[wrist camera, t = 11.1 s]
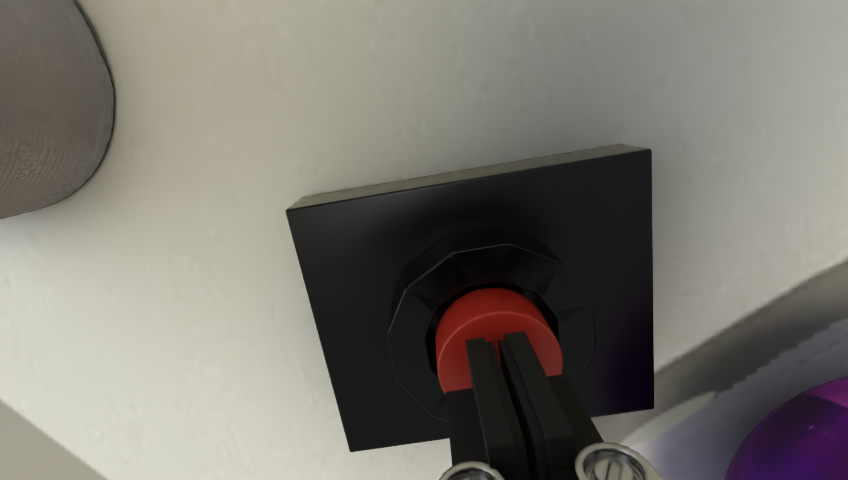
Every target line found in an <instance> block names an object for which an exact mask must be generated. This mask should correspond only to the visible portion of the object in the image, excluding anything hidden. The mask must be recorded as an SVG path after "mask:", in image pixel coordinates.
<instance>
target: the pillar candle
mask: <svg viewBox="0 0 848 480" xmlns="http://www.w3.org/2000/svg"><path fill="white" fill-rule="evenodd" d="M113 109H114V95H113V88H112V83H111V79H110V76H109V73H108V70H107V67H106V65H105V63H104V61H103V58H102V56H101V54H100V52H99V50H98V47H97V44H96V42H95V40H94V38H93V35H92V33H91V31H90V29H89V27H88V25H87V24H86V22H85V20H84V18H83V16H82V15H81V13H80V11H79V10H78V8H77V6H76V4H75V3H74V1H73V0H0V219H4V218H7V217H11V216H15V215H19V214H22V213H26V212H30V211H33V210H37V209H41V208H44V207H46V206H49V205H52V204H54V203H57V202H59V201H60V200H62V199H64V198H66V197H67V196H69V195H70V194H72V193H73V192H75V191H76V190H77V189H78V188H80V187H81V186H82V185H83V184H84V183H85V182H86V180H87V179H88V178H89V177H90V176H91V175H92V174H93V173H94V171H95V169H96V168H97V166H98V165H99V162H100V160H101V159H102V157H103V155H104V153H105V150H106V147H107V143H108V141H109V139H110V136H111V130H112V124H113Z"/></svg>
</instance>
